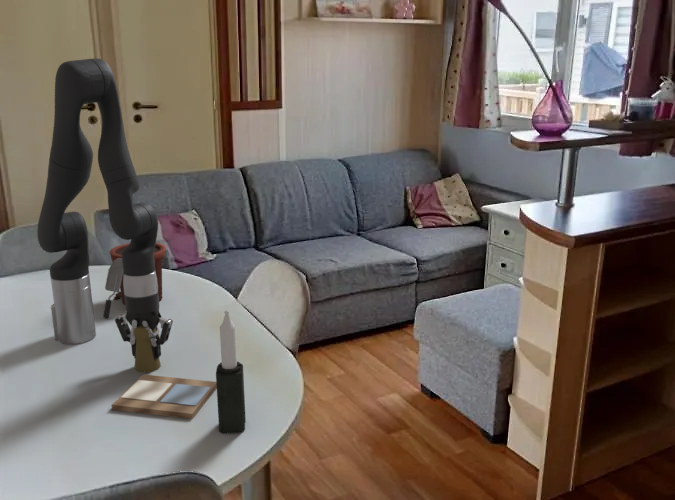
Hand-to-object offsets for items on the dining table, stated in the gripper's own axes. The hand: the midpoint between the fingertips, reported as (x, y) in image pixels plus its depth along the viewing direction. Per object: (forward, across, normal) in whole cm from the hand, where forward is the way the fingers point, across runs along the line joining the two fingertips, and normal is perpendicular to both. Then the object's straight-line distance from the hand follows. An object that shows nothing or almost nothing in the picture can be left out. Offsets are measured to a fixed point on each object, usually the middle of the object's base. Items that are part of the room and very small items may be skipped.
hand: (147, 358), depth 162 cm
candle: (+3, +29, -21) cm, 36 cm away
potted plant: (+3, -24, +38) cm, 45 cm away
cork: (+2, 0, 0) cm, 2 cm away
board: (+2, +11, -13) cm, 17 cm away
